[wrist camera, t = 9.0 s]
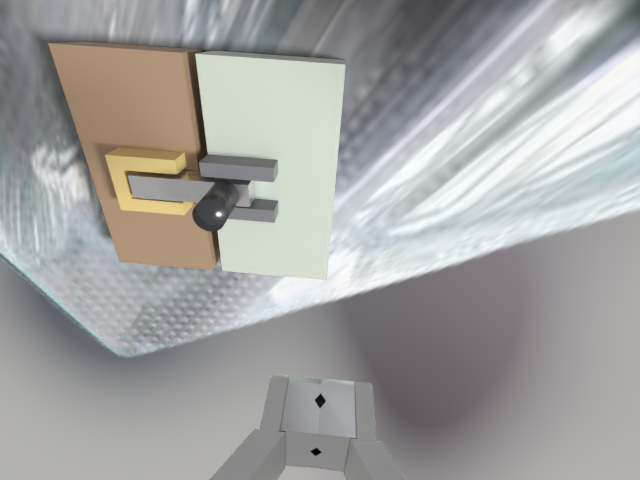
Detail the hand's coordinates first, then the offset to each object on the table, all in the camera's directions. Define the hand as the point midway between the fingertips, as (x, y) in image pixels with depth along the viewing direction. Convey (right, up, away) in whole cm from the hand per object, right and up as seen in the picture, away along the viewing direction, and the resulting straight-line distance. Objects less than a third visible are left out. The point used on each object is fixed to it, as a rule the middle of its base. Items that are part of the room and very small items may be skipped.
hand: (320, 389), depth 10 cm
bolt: (-11, +10, +19) cm, 24 cm away
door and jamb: (-10, +12, +23) cm, 28 cm away
